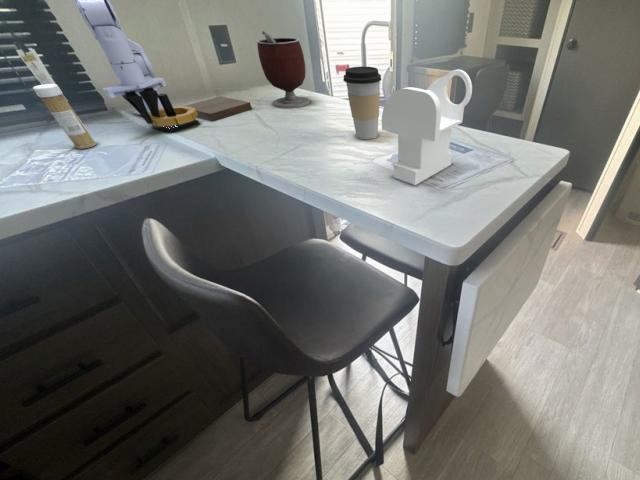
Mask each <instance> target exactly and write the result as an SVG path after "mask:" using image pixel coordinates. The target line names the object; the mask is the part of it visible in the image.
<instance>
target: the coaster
mask: <svg viewBox="0 0 640 480" xmlns="http://www.w3.org/2000/svg"><path fill="white" fill-rule="evenodd" d="M185 106H188V107H192V108H195V109H196V111H197V114H198V116H197V118H200V119H203V120H208V121H211V122H214V121H218V120H222V119H224V118H228V117H230V116H234V115H237V114H241V113H243V112H247V111H250V110H253V108H252V104H251V102H250V101H246V100H242V99H238V98H237V99H235V98H231V97H227V96H223V95H222V96H217V97H213V98H209V99H205V100H201V101H198V102H194V103H190V104H186V105H185Z"/></svg>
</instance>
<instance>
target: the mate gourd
mask: <svg viewBox="0 0 640 480" xmlns="http://www.w3.org/2000/svg"><path fill="white" fill-rule="evenodd" d="M261 34H262V35H264V37H265V38H262V39H261V38H260V39H258V40H256V44H257V54H258V58H259V62H260V66H261V68H262V71H263V74H264V77H265V78H266V80H267V81H268V82H269V84H270V85H272V86H273V87H274V88H277V89H279V90H281V91H284V92H285V93H284V96H283V97H278V98H276V99H274V101H273V105H274V107H276V108H280V109H281V108H282V109H291V108H292V109H293V108H300V107H304V106H306V105H308V104H310V99H309V97H306V96H302V95H301V96H299V95H296V93H295V92H294V91H295V90H296V89H298V88H299V87H301V86H302V85H303V84H304V81H305V78H306V62H305V56H304V52H303V48H302V45H301V43H300V39H299V38H296V37H273V36H272V35H271V34H269V33H268V32H267V31H265V30H262V31H261Z"/></svg>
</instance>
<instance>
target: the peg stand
mask: <svg viewBox="0 0 640 480" xmlns="http://www.w3.org/2000/svg"><path fill="white" fill-rule="evenodd" d="M158 98H159V100H160V102H161V104H162V106H163V109H164V111H165V113H166V115H167V116H166V117H173V116H177V115H176V113H175V111H174V109H173V107H174V106H173V105H172V102H171V100H170V99H169V96H168V93H159V94H158ZM198 125H200V122H199V120H197V119H195V120H194V121H191V122H187V123H184V124H180V125H178V124H177V125H176V126H178V127H175V125H174V126H172V127H171V126H164V127H163V126H160V127H159V126H154V125H151V126H152V128H153V129H157V130H160V131H164V132H167V133H171V134H172V133H175V132H178V131H182V130H185V129H188V128H192V127H195V126H198ZM166 127H167V128H166ZM168 127H169V128H170V129H169V128H168ZM173 127H174V128H173Z"/></svg>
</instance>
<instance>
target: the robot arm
mask: <svg viewBox="0 0 640 480" xmlns="http://www.w3.org/2000/svg"><path fill="white" fill-rule="evenodd" d="M73 1H74V4H75V7H76V9H77V11H78V12H79V14H80V16H81V18H82V20H83V22H84V23H85V25H86V26H87V27H88V29H89V30H90V31H91V33H92V35H93V37H94V39H95V40H97V41H98V44H99V46H100V48H101V49H102V51H103V53H104V54H105V57H106V60H107V61H108V63H109V65H110V68H111V69H112V72H113V73H114V75H115V77H116V78H117V79H118V81H119V83H117V84H115V85H111V86H107V87H103V88H102V90H103V92H104V94H105V96H106V97H107V98H109V99H115V98H117V97H121V96H122V98H123V99H124V100H125V101H127V102H128V103H129V104H130V105H131V106H132V107H133V108H134V109H135V111H133V113H134V114H135V115H139V116H141V117H142V118H143V120H144V121H145V122H146V124H148V123H149V124H148V125H151V124H153V122H152V119H151V117H150V115H149V113H148V112H151V114H152V116H155V117H160V114H159V109H161V108H163V106H162V104H161V102H160V100H159V98H158V94H160V92H159V90H158V89H159V88H166V87H167V83H166V81H165V79H164V77H155V76H156V73H155V71H154V68H153V66H152V64H151V62H150V59H149V58H148V56H147V54H146V52H145V50H144V48H143V47H142V46H141V45H140V44H139V43H137V42H135V41H134V40H132V39H130V38H128V37H127V35H126V33H125V31H124V29H123V26H122V25H121V21H120V19H119V17H118V15H117V13H116V11H115V8H114V7H113V5H112V3H111V2H110V1H111V0H73Z"/></svg>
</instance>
